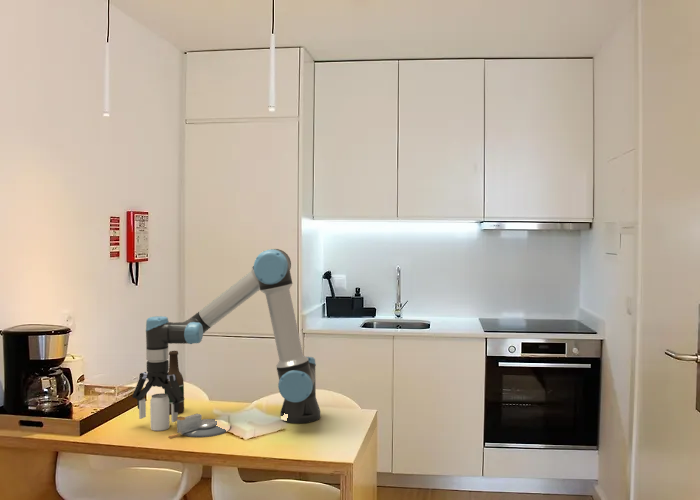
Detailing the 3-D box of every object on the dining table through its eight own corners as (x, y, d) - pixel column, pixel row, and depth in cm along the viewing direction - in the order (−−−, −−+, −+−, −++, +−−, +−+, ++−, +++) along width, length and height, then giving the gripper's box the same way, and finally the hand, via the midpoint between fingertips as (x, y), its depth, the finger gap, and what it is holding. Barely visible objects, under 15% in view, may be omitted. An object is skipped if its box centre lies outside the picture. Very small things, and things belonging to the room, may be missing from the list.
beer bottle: (187, 409, 248) (186, 349, 247) (180, 415, 240) (179, 353, 239) (168, 409, 248) (167, 349, 248) (160, 414, 241) (159, 353, 240)
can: (165, 431, 220) (165, 397, 220) (147, 431, 221) (147, 397, 220) (172, 425, 227) (171, 393, 226) (154, 425, 227) (154, 392, 227)
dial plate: (240, 424, 228) (240, 421, 228) (214, 439, 211) (214, 436, 211) (197, 419, 234) (197, 416, 234) (168, 434, 217) (168, 431, 217)
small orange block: (176, 435, 215) (176, 433, 215) (178, 436, 214) (178, 434, 214) (168, 437, 213) (168, 435, 213) (170, 438, 212) (170, 436, 212)
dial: (207, 420, 228) (206, 406, 228) (221, 424, 223) (221, 410, 223) (172, 431, 216) (172, 415, 216) (186, 435, 211) (186, 420, 211)
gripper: (193, 360, 222) (194, 419, 222) (135, 356, 230) (136, 413, 230) (181, 364, 215) (182, 425, 215) (121, 360, 223) (122, 419, 223)
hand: (158, 419), depth 223 cm, fingers open, 13 cm apart
